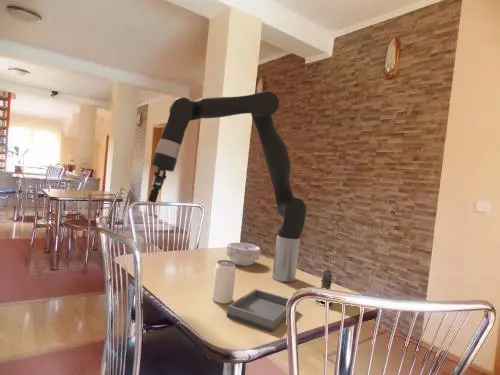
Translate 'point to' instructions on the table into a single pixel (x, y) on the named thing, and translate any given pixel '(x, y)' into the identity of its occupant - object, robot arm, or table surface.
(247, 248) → the paper bowls
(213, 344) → the table surface
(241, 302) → the tray
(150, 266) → the table surface
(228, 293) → the can
